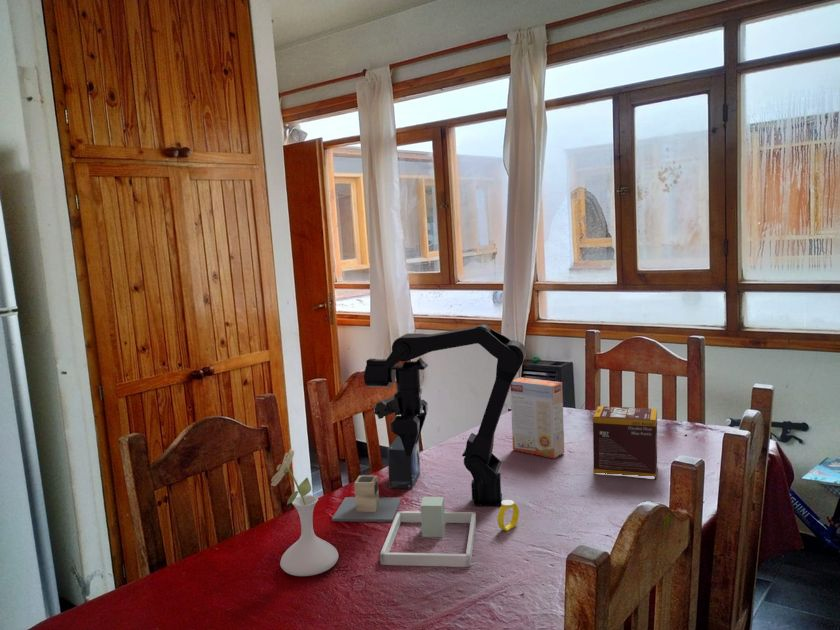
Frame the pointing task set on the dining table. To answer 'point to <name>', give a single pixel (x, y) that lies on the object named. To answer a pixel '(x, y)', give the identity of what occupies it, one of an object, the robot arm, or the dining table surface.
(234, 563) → the dining table surface
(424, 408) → the robot arm
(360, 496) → the labelled block
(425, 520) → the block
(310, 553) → the flower in vase
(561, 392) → the cracker box
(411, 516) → the white square frame
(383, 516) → the mat
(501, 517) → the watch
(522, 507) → the dining table surface
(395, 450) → the small box
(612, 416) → the supplement box
